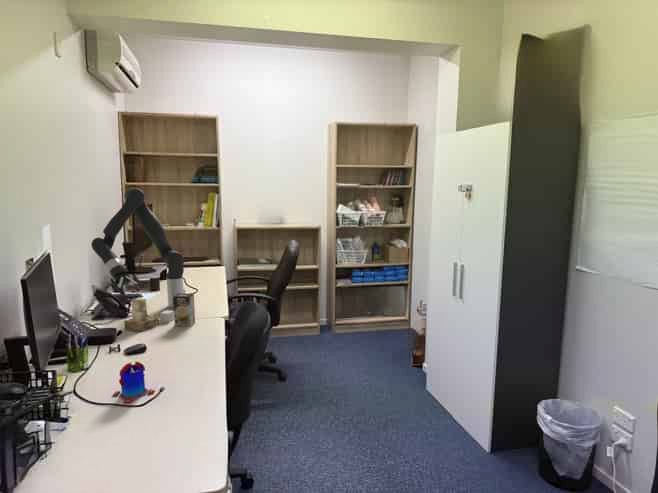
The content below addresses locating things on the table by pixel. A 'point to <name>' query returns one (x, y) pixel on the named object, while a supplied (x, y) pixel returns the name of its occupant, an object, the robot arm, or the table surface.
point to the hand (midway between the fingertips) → (131, 292)
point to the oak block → (139, 309)
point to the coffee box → (184, 309)
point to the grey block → (167, 316)
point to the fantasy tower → (132, 383)
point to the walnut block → (140, 324)
